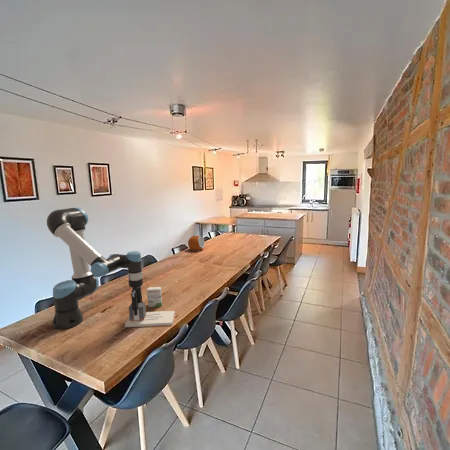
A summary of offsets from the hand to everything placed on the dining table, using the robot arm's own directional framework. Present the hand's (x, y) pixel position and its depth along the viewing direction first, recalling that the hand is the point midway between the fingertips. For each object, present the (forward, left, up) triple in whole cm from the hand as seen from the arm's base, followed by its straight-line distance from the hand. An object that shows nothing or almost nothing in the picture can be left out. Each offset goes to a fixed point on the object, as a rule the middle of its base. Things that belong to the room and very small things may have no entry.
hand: (138, 316), depth 160 cm
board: (+7, 0, -2) cm, 8 cm away
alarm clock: (+29, +161, -2) cm, 164 cm away
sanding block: (0, 0, -1) cm, 1 cm away
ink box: (+6, +19, -2) cm, 20 cm away
